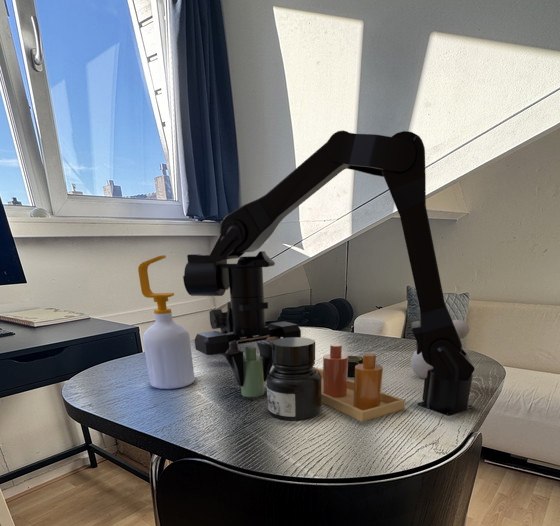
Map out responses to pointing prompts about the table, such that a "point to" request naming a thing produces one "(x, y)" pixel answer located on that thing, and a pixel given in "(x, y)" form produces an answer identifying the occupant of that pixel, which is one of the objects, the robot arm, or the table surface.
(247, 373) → the sage bottle
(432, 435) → the table surface
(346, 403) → the tray
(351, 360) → the tape measure
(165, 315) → the soap bottle
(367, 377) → the amber bottle
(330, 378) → the terracotta bottle
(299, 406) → the ink bottle
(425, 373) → the perfume bottle
